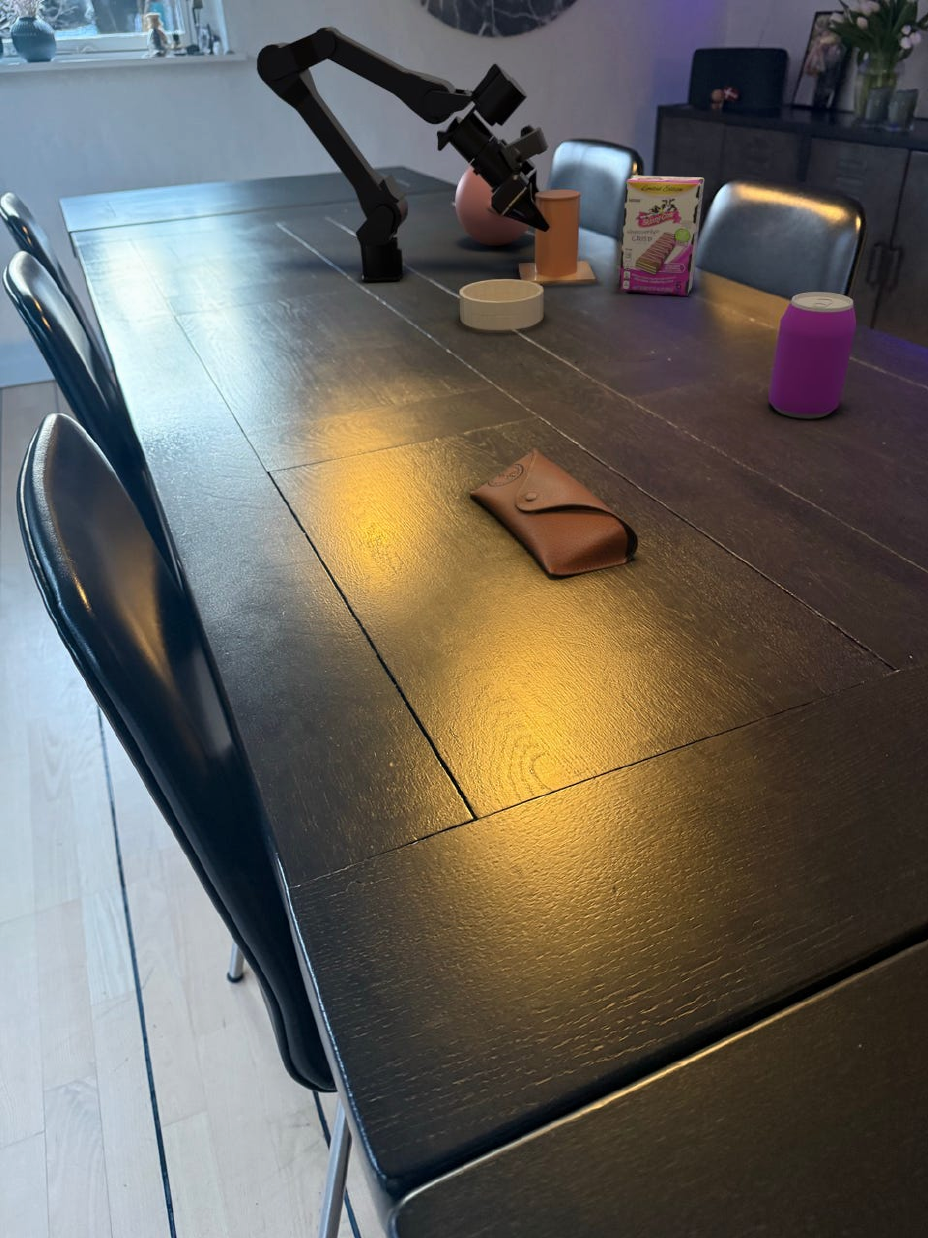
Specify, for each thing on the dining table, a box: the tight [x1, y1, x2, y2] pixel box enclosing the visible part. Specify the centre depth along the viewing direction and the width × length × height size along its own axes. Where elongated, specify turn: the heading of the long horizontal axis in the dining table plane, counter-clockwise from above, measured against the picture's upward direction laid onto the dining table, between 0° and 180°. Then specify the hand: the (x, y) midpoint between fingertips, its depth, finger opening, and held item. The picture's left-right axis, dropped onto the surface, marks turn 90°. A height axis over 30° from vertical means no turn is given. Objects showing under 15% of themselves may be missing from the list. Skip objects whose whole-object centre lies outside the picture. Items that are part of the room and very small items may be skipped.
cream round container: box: [459, 278, 545, 331], centre depth 132 cm, size 12×12×4 cm
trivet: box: [518, 260, 596, 285], centre depth 152 cm, size 12×12×1 cm
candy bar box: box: [618, 175, 705, 297], centre depth 138 cm, size 11×5×16 cm, turn 71°
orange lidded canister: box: [534, 189, 582, 276], centre depth 148 cm, size 7×7×12 cm
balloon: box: [454, 165, 530, 247], centre depth 167 cm, size 15×20×15 cm
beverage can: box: [768, 291, 857, 419], centre depth 98 cm, size 8×8×12 cm
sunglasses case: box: [469, 446, 639, 577], centre depth 81 cm, size 18×7×7 cm, turn 24°
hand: (549, 223), depth 148 cm, fingers open, 9 cm apart
